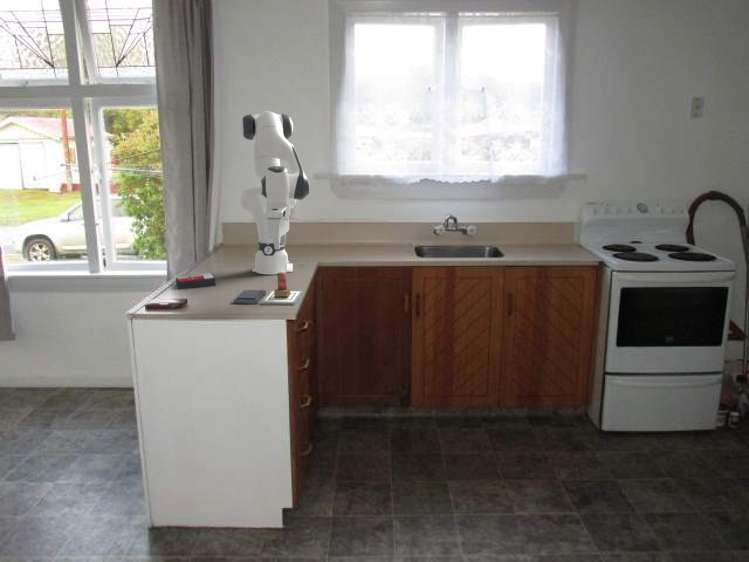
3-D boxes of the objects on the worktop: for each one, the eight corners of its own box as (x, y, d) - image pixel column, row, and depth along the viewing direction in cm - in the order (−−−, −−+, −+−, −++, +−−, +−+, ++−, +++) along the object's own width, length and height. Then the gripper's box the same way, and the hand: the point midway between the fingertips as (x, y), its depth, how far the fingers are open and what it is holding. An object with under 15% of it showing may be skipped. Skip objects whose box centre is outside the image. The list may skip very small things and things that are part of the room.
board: (271, 292, 248) (271, 290, 248) (303, 292, 247) (303, 290, 247) (260, 304, 231) (260, 301, 230) (294, 304, 230) (294, 302, 230)
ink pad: (243, 294, 246) (243, 289, 245) (266, 294, 245) (265, 289, 245) (233, 303, 232) (233, 298, 232) (257, 303, 232) (256, 298, 231)
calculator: (175, 276, 263) (210, 271, 269) (176, 285, 265) (212, 280, 270) (178, 281, 254) (214, 276, 259) (179, 291, 255) (216, 286, 260)
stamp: (278, 294, 242) (276, 271, 240) (290, 294, 241) (289, 271, 239) (274, 298, 236) (273, 274, 234) (287, 298, 236) (286, 274, 234)
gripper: (276, 207, 241) (278, 241, 245) (263, 214, 221) (265, 251, 225) (292, 207, 241) (293, 241, 244) (281, 214, 221) (282, 252, 224)
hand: (280, 246), depth 234 cm, fingers open, 8 cm apart
